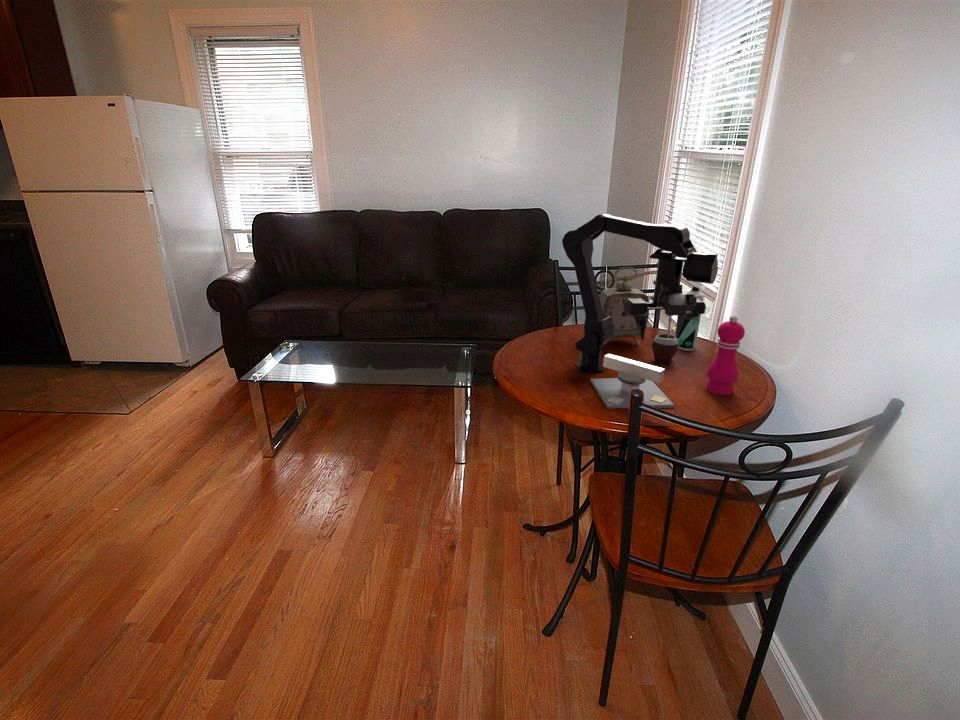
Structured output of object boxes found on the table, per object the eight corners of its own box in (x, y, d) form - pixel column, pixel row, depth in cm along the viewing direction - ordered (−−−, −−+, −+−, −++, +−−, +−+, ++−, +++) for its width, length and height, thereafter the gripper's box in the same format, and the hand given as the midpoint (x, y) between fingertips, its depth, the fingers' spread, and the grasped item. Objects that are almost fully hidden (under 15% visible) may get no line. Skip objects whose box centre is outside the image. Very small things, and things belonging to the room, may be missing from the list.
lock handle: (598, 374, 125) (599, 358, 123) (613, 366, 130) (614, 350, 128) (653, 392, 115) (656, 374, 113) (667, 382, 120) (670, 365, 119)
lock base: (590, 381, 131) (591, 368, 129) (648, 380, 131) (650, 367, 130) (607, 409, 116) (609, 394, 114) (673, 407, 117) (675, 393, 115)
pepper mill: (725, 383, 129) (740, 311, 122) (740, 395, 122) (757, 320, 115) (699, 384, 129) (712, 311, 121) (712, 396, 122) (727, 320, 115)
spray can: (679, 343, 158) (688, 283, 151) (696, 347, 155) (707, 285, 148) (674, 348, 154) (684, 286, 146) (692, 352, 151) (703, 289, 143)
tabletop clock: (599, 347, 155) (606, 269, 146) (592, 338, 163) (599, 264, 154) (644, 347, 155) (654, 269, 146) (635, 337, 164) (644, 263, 154)
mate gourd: (660, 368, 139) (668, 318, 134) (643, 358, 146) (649, 310, 140) (681, 364, 141) (690, 315, 136) (664, 355, 148) (671, 308, 143)
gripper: (642, 286, 110) (634, 350, 116) (722, 285, 111) (710, 349, 117) (626, 276, 120) (619, 335, 126) (699, 275, 121) (689, 334, 127)
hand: (659, 338), depth 124 cm, fingers open, 9 cm apart
